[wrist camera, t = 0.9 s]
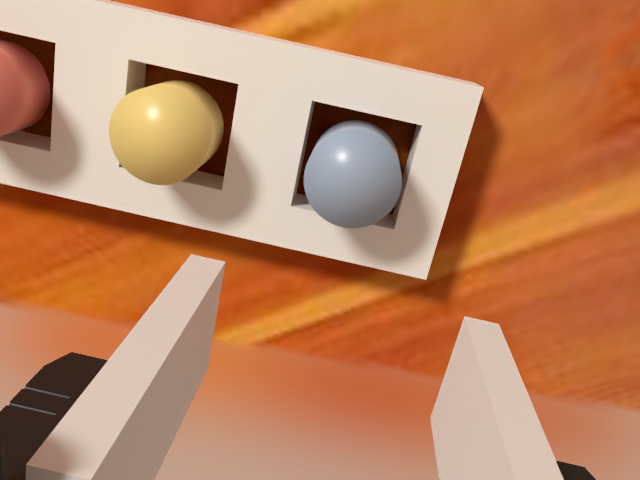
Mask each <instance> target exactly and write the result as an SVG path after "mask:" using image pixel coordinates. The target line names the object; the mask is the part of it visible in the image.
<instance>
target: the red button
mask: <svg viewBox="0 0 640 480" xmlns="http://www.w3.org/2000/svg"><path fill="white" fill-rule="evenodd" d="M49 101H50V86H49V81H48V77H47V75H46V72H45V70H44V68H43V66H42V65H41V63H40V62H39V61H38V59H37V58H36V57H35V56H34V55H33V54H32V53H31V52H30V51H28V50H27V49H26V48H24V47H23V46H21V45H19V44H17V43H14V42H11V41H6V40H0V136H1V135H4V134H7V133H11V132H14V131H17V130H21V129H24V128H27V127H30V126H32V125H34V124H35V123H37V122H38V121H39V120H40V119H41V118H42V117H43V115H44V114H45V112H46V110H47V108H48V105H49Z"/></svg>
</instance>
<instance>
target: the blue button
mask: <svg viewBox="0 0 640 480" xmlns="http://www.w3.org/2000/svg"><path fill="white" fill-rule="evenodd" d="M401 187H402V174H401V169H400V163H399V158H398V153H397V150H396V147H395V145H394V143H393V141H392V139H391V138H390V137H389V135H388V134H387V133H386V132H385V131H383V130H382V129H381V128H380V127H378V126H376V125H374V124H372V123H369V122H366V121H361V120H349V121H344V122H341V123H338V124H336V125H334V126H332V127H331V128H329V129H328V130H326V131H325V132H324V133H323V134H322V136H321V137H320V138H319V140H318V141H317V143H316V145H315V147H314V149H313V151H312V153H311V155H310V157H309V160H308V162H307V164H306V167H305V171H304V190H305V193H306V197H307V199H308V201H309V203H310V205H311V206H312V208H313V209H314V210H315V212H316V213H317V214H318V215H319V216H320V217H322V218H323V219H324V220H326V221H328V222H329V223H331V224H334V225H336V226H340V227H344V228H362V227H367V226H369V225H372V224H374V223H376V222H378V221H380V220H381V219H383V218H384V217H385V216H386V215H387V214H388V213H389V212H390V211H391V210H392V209H393V207H394V206H395V204H396V202H397V200H398V198H399V195H400V192H401Z"/></svg>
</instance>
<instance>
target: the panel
mask: <svg viewBox="0 0 640 480" xmlns="http://www.w3.org/2000/svg"><path fill="white" fill-rule="evenodd" d="M0 30H1V31H5V32H9V33H14V34H18V35H23V36H27V37H32V38H36V39H40V40H45V41H49V42H54V43H55V63H54V84H53V105H52V126H51V137H47V136H42V135H38V134H33V133H29V132H25V131H20V130H17V131H14V132H11V133H7V134H4V135H1V136H0V183H2V184H6V185H11V186H15V187H19V188H24V189H28V190H33V191H37V192H41V193H46V194H50V195H55V196H59V197H63V198H68V199H72V200H77V201H81V202H85V203H90V204H94V205H99V206H103V207H107V208H112V209H116V210H121V211H125V212H129V213H134V214H138V215H143V216H147V217H151V218H156V219H160V220H165V221H169V222H173V223H178V224H182V225H187V226H191V227H195V228H200V229H204V230H209V231H213V232H218V233H222V234H226V235H231V236H235V237H240V238H244V239H248V240H253V241H257V242H262V243H266V244H270V245H275V246H279V247H284V248H288V249H292V250H297V251H301V252H306V253H310V254H314V255H319V256H323V257H328V258H332V259H336V260H341V261H345V262H350V263H354V264H358V265H363V266H367V267H372V268H376V269H380V270H385V271H389V272H394V273H398V274H403V275H407V276H411V277H416V278H420V279H425V280H426V279H427V275H428V272H429V269H430V265H431V262H432V259H433V255H434V252H435V249H436V245H437V242H438V239H439V235H440V232H441V229H442V226H443V222H444V219H445V216H446V212H447V209H448V206H449V202H450V199H451V196H452V192H453V189H454V186H455V182H456V179H457V176H458V172H459V169H460V166H461V162H462V159H463V156H464V152H465V149H466V146H467V142H468V139H469V136H470V132H471V129H472V126H473V122H474V119H475V116H476V112H477V109H478V106H479V102H480V99H481V96H482V92H483V89H484V88H483V87H482V86H480V85H478V84H477V83H474V82H470V81H465V80H461V79H457V78H452V77H448V76H443V75H439V74H434V73H430V72H425V71H421V70H417V69H412V68H408V67H403V66H399V65H394V64H390V63H385V62H381V61H376V60H372V59H368V58H363V57H359V56H354V55H350V54H345V53H341V52H336V51H332V50H328V49H323V48H319V47H314V46H310V45H305V44H301V43H296V42H292V41H287V40H283V39H279V38H274V37H270V36H265V35H261V34H256V33H252V32H247V31H243V30H239V29H234V28H230V27H225V26H221V25H216V24H212V23H207V22H203V21H198V20H194V19H190V18H185V17H181V16H176V15H172V14H167V13H163V12H158V11H154V10H150V9H145V8H141V7H136V6H132V5H127V4H123V3H118V2H114V1H110V0H0ZM146 63H147V64H151V65H156V66H160V67H165V68H169V69H174V70H178V71H182V72H187V73H191V74H196V75H200V76H205V77H209V78H214V79H218V80H222V81H227V82H231V83H236V84H238V91H237V97H236V103H235V110H234V116H233V123H232V129H231V135H230V142H229V148H228V155H227V161H226V167H225V174H224V177H223V176H219V175H215V174H210V173H206V172H201V171H197V170H196V171H195V172H193V173H192V174H191V175H190V176H188V177H187V178H186V179H184V180H182V181H180V182H177V183H174V184H170V185H154V184H150V183H146V182H144V181H141V180H139V179H138V178H136V177H134V176H133V175H131V174H130V173H129V172H128V171H127V170H126V169H125V168H124V167H123V166H122V165H121V164H120V162H119V161H118V159H117V158H116V156H115V154H114V152H113V150H112V147H111V143H110V138H109V124H110V119H111V115H112V113H113V111H114V109H115V107H116V106H117V104H118V103H119V102H120V100H121V99H122V98H124V97H125V96H126V95H128V94H129V93H131V92H133V91H135V90H138V89H141V88H144V83H145V73H146ZM315 101H316V102H320V103H324V104H329V105H333V106H338V107H342V108H347V109H351V110H356V111H360V112H364V113H369V114H373V115H378V116H382V117H387V118H391V119H395V120H400V121H404V122H409V123H413V124H417V125H416V129H415V133H414V137H413V140H412V144H411V148H410V152H409V155H408V159H407V163H406V167H405V170H404V174H403V178H402V187H401V192H400V195H399V198H398V200H397V202H396V204H395V208H394V212H393V215H391V214H387V215H386V216H385V217H384V218H383V219H381V220H380V221H378V222H376V223H374V224H372V225H369V226H367V227H362V228H344V227H340V226H336V225H334V224H331V223H329V222H328V221H326V220H324V219H323V218H322V217H320V216H319V215H318V214H317V213H316V212H315V210H314V209H313V208H312V206H311V205H310V203H309V201H308V199H307V197H306V195H303V194H298V193H297V189H298V184H299V179H300V174H301V169H302V164H303V159H304V154H305V149H306V144H307V139H308V135H309V130H310V125H311V120H312V115H313V110H314V105H315Z"/></svg>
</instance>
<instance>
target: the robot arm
mask: <svg viewBox="0 0 640 480" xmlns="http://www.w3.org/2000/svg"><path fill="white" fill-rule="evenodd" d="M224 268H225V262H223V261H219V260H215V259H210V258H206V257H201V256H197V255H192V254H191V255H190V257H189V258H188V259H187V260H186V262H185V263H184V264H183V266H182V267H181V268H180V269H179V271H178V272H177V273H176V274H175V276H174V277H173V278H172V280H171V281H170V282H169V283H168V285H167V286H166V287H165V288H164V290H163V291H162V292H161V294H160V295H159V296H158V297H157V299H156V300H155V301H154V302H153V304H152V305H151V306H150V308H149V309H148V310H147V311H146V313H145V314H144V315H143V316H142V318H141V319H140V320H139V322H138V323H137V324H136V325H135V327H134V328H133V329H132V330H131V332H130V333H129V334H128V336H127V337H126V338H125V340H124V341H123V342H122V343H121V345H120V346H119V347H118V348H117V350H116V351H115V352H114V354H113V355H112V356H111V357H110V359H109V360H104V359H99V358H95V357H90V356H86V355H82V354H77V353H73V352H71V353H69V354H67V355H65V356H63V357H61V358H59V359H57V360H55V361H53V362H51V363H49V364H47V365H45V366H44V367H43V368H42V369H41V370H40V371H39V372H38V373H37V374H36V375H35V376H34V377H33V378H32V379H31V380H30V381H29V382H28V383H27V384H26V387H25V389H22V390H21V391H20V392H19V393H18V394H17V395H16V396H15V397H14V398H13V399H12V400H11V401H10V404H9V406H7V405H6V406H5V407H4V408H3V409H2V410H1V412H0V480H154V479H155V477H156V475H157V473H158V471H159V469H160V466H161V465H162V462H163V460H164V457H165V456H166V454H167V452H168V450H169V448H170V445H171V444H172V442H173V440H174V437H175V435H176V433H177V431H178V429H179V427H180V425H181V423H182V420H183V419H184V416H185V414H186V412H187V410H188V408H189V406H190V404H191V402H192V400H193V398H194V396H195V394H196V391H197V389H198V387H199V385H200V383H201V381H202V379H203V377H204V375H205V373H206V371H207V368H208V364H209V358H210V352H211V346H212V340H213V334H214V328H215V322H216V316H217V310H218V304H219V298H220V292H221V286H222V280H223V274H224ZM430 419H431V426H432V433H433V439H434V446H435V452H436V460H437V467H438V474H439V480H596V479H595V478H594V477H593V476H592V475H591V474H590V473H589V472H588V471H587V470H586V468H585V467H581V466H577V465H573V464H568V463H564V462H559V461H556V460H555V457H554V455H553V453H552V451H551V448H550V446H549V443H548V441H547V438H546V436H545V434H544V431H543V429H542V426H541V425H540V422H539V419H538V417H537V414H536V412H535V410H534V407H533V405H532V403H531V400H530V398H529V395H528V393H527V390H526V388H525V386H524V383H523V381H522V379H521V376H520V374H519V371H518V369H517V367H516V364H515V362H514V359H513V357H512V355H511V352H510V350H509V347H508V345H507V343H506V340H505V338H504V335H503V333H502V331H501V328H500V326H499V324H496V323H492V322H488V321H483V320H479V319H474V318H470V317H466V316H464V319H463V322H462V325H461V328H460V331H459V334H458V337H457V340H456V343H455V346H454V349H453V352H452V355H451V358H450V361H449V364H448V367H447V370H446V373H445V376H444V379H443V382H442V385H441V388H440V391H439V394H438V397H437V400H436V403H435V406H434V409H433V412H432V415H431V418H430Z"/></svg>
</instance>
